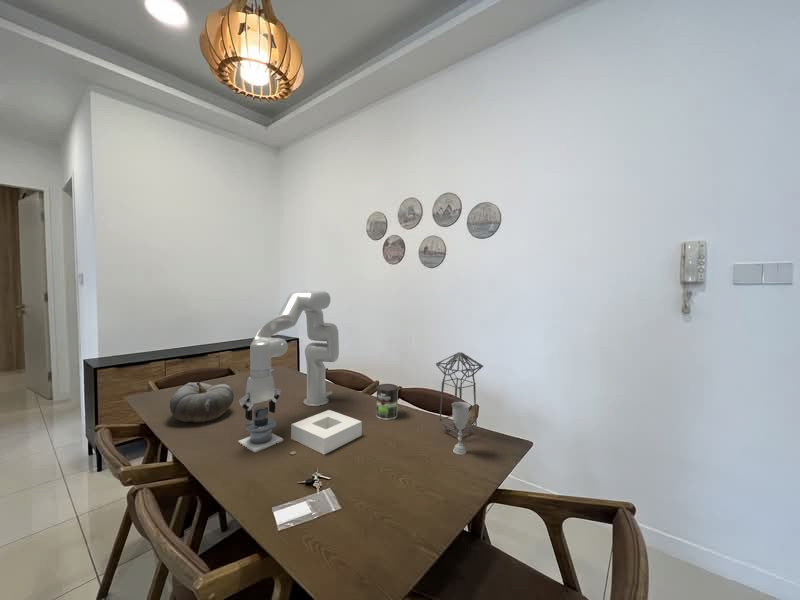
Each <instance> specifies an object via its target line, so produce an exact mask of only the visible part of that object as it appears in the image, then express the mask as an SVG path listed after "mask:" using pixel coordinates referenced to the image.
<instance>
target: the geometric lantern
mask: <svg viewBox="0 0 800 600" xmlns="http://www.w3.org/2000/svg"><path fill="white" fill-rule="evenodd" d="M446 360H448V361H447V362H444V361H446ZM456 363H457V365H456V369H453V368H454V365H455V364H456ZM460 363H461V370H460ZM473 363H474V364H473ZM444 365H445V366H444ZM449 365H450V366H449ZM467 365H468V367H467ZM435 366H436V367H437V368H438V369H439V370H440V371H441V372H442V374H443V375H444V376H443V379H442V381H441V392H440V393H441V394H440V405H439V406H440V407H439V420H438V422H439V423H440V424H441V425H442V426H444V428H445V433H447V434H449V435H451V436H453V437H455V438H457V439H458V437H459V435H458V433H459V429H457V428H456V425H455V423H454V422H453V423H451V424H446V423H445V422H443V420H446V419H448V418H453V417H452V416H453V414H451V415H449V416H446V417H442V410H443V408H442V406H443V399H444V387H445V385H447V386H450V387H453V388H454V402H457V396H458V389H459V402H463V400H462V398H463V397H462V395H463V393H462V391H463V390H462V389H464V388H465V389H466V388H469V387H473V401H474V402H473V403H474V404H473V405H474V406H473V407H474V420H473V419H471V418H469V419H468V421H471V422H472V425H469V426H468V425H465V427H464V429H462V430H461V432H462V433H465V432H466V433H467V434H465V435H463V436H462V435H461V438H462V439H463V438H464V437H467V436H469V435H471V430H472V429H473V428H475V427H477V425H478V423H477V422H478V420H477V401H476V400H477V395H476V384H477V383H476V381H475V374H476V373H477V372H479V371H480V370H481V369H482V368H484V365H483V364H481V363H480V362H478V361H476V360H475V359H473V358H472V357H470V356H469V355H467V354H465V353H464V352H460V351H458V352H456V353H455V354H453V355H449V357H446V358H444V359H442V360H440V361H438V362H436V363H435ZM448 366H449V367H448ZM464 368H465V369H464ZM450 371H451V373H450ZM457 372H461V373H462V374H463V375H462V377H461V378H459V377H457V375H456V374H455V373H457ZM470 372H471V374H470ZM452 375H454V376H455V378H453V377H452ZM447 376H449V378H450V379H447V380H446V377H447ZM464 377H465V378H464ZM470 377H472V381H469V380H467V379H468V378H470ZM454 380H456V382H455V381H454ZM449 381H452V383H453V385H452V384H449V383H446V382H449ZM458 381H460V385H459V386H458V383H459V382H458ZM464 382H468V383H470V384H471V385H466V386H462V385H463V384H464ZM452 425H453V427H452ZM449 430H450V431H451V432H454V433H456V434H457V435H454V434H453V433H451V432H449Z"/></svg>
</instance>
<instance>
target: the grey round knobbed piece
mask: <svg viewBox="0 0 800 600" xmlns="http://www.w3.org/2000/svg"><path fill="white" fill-rule="evenodd" d="M253 413H254V414H253V415H254V416H253V419H252V420H251V421H250V420H249V422H247V423H246V424H245V430H246V431H248V432H249V437H250V443H252V444H255V445H259V444H265V443H267V442H269V441H271V440H272V433H273V429H274V428H275V427H276V425H277V421H276V419H274V418H271V417H270V418H269V406H265V405H264V406H257V407H255V408H254V409H253Z"/></svg>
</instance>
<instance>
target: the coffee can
mask: <svg viewBox="0 0 800 600" xmlns="http://www.w3.org/2000/svg"><path fill="white" fill-rule="evenodd" d="M398 396H399V386H398V385H397V384H393V383H381V384H379V385H376V415H375V416H376V418H377V419H380V420H383V421H384V420H386V421H390V420H395V419H396V418H397V417H398V405H399V402H398V398H399V397H398Z"/></svg>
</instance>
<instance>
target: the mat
mask: <svg viewBox="0 0 800 600" xmlns="http://www.w3.org/2000/svg"><path fill="white" fill-rule="evenodd" d="M283 441H284V438H283V437H280V436H279V435H276V434H275V433H273V432H272V440H271V441H269V442H267V443H265V444H259V445H255V444H252V443H250V436H247V437H244V438H242V439H240V440H237V443H238V442H239V443H240V445H241V444H242V445H241V446H243V447H244V446H245V447H244V448H246V447H247V449H248V450H249V451H251V452H253V453H257V452H260V451H262V450H264V449H267V448H269V447H271V446H274V445H276V443H277V444H279V443H281V442H283ZM239 443H238V444H239Z"/></svg>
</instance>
